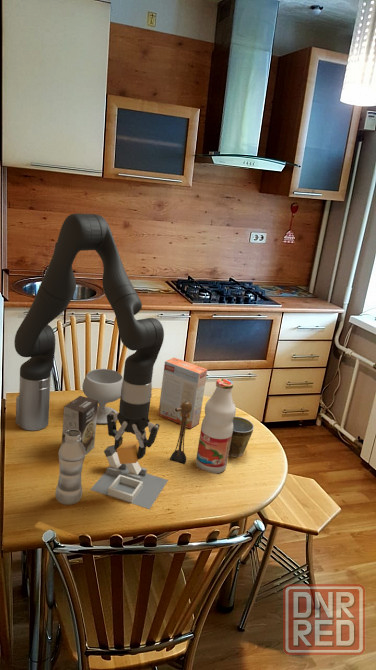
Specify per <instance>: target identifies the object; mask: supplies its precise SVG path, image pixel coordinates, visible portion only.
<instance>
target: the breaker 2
mask: <svg viewBox="0 0 376 670" xmlns="http://www.w3.org/2000/svg"><path fill="white" fill-rule="evenodd" d="M138 461H139V460H138ZM138 461H137V462H136V463H127V464H126V466H127V468H128V470H129V472H130V473H131V474H134V475H138V474H139V472H140V471H141V470H142V469H141V467H142V466H141V465H140V463H139V462H138Z"/></svg>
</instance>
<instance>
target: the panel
mask: <svg viewBox="0 0 376 670" xmlns="http://www.w3.org/2000/svg"><path fill="white" fill-rule="evenodd" d="M140 467H141V469H142V470H141V471H140V472H139V474H138V475H134V474H131V473H130V472H129V470H128V468H127V466H126V464H122V465H121V466H120V467H119V468H118V469H115V468H112V467H110V465H109V466H107V467H106V471H105V472H104V473H103V474H102V475H101V476H100V477H99V479H98V480H97V481H96V482H95V483H94V484H93V486H92V487H91V488H90V491H93V492H96V493H99V494H102V495H105V496H108V497H111V498H115V499H118V500H119V501H123V502H126V503H130V504H132V505H136V506H138V507H141V508H145V509H148V510H151V508H152V507H153V505H154V503H155V502H156V500H157V499H158V496H160V494H161V492H162V491H163V489H164V487H165V486H166V485H167V483H168V482H169V479H166V478H162V477H159V476H157V475H153V474H150V473H147V471H148V469H147V468H146V467H142V466H140Z"/></svg>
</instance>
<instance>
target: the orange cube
mask: <svg viewBox="0 0 376 670" xmlns="http://www.w3.org/2000/svg"><path fill="white" fill-rule="evenodd" d="M139 446H140V445H139V442H138V440H128V441H127V440H126V441H122V444H121V445H120V447H118V448H117V454H118V458H119V462H120V464H127V463H136V462H137V461H139V460H140V459H137V457H138V448H139Z"/></svg>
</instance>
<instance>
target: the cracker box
mask: <svg viewBox="0 0 376 670" xmlns="http://www.w3.org/2000/svg"><path fill="white" fill-rule="evenodd" d="M163 366H164V367H163V373H162V375H163V376H162V381H161V389H160V397H159V398H160V399H159V405H158V413H157V415H158V416H161V417H162V418H165V419H167V420H170V421H172V422H173V423H174V422H175V423H176V424H178V425H181V421H182V416H183V415H184V414H182V413H181V412H180V411H178V412H176V411H175V408H180V406H181V404H182V403H184V402H186V401H188V402H190V403H191V405H192V410H191V412H189V413H188V414H186V416H187V421H186V428H188V429H190V430H191V429H192V428H194V427H197V426H198V425H199V424H200V421H201V420H200V419H201V414H202V407H203V400H204V394H205V388H206V381H207V375H208V368H204V367H202V366H199V365H196V364H193V363H192V362H187V361H185V360H182V359H179V358H177V357H172V358H169V359H167V360H165V361H164V365H163Z"/></svg>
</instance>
